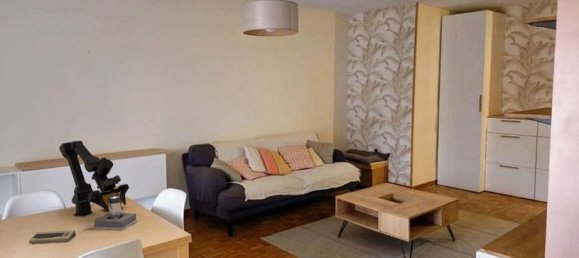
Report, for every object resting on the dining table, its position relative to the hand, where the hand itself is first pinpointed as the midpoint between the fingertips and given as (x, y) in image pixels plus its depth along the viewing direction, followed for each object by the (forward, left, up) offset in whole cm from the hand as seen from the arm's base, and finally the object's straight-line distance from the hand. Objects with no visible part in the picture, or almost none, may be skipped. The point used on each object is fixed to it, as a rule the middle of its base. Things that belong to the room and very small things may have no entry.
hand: (116, 207), depth 193 cm
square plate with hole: (-1, +1, -9) cm, 9 cm away
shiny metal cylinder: (-1, +1, -8) cm, 8 cm away
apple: (-17, +24, -9) cm, 31 cm away
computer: (-18, -20, -10) cm, 29 cm away
